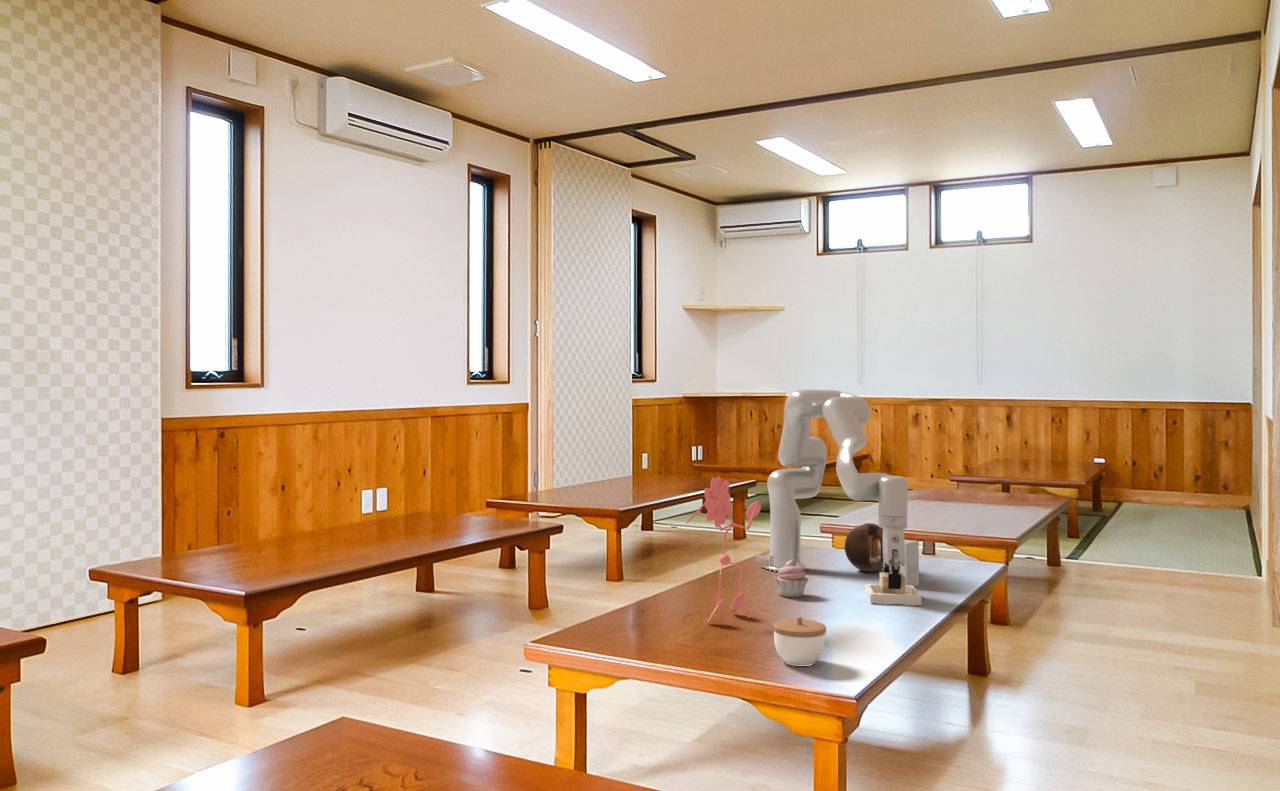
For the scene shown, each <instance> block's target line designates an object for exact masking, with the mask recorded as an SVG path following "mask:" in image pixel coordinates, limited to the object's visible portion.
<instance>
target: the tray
mask: <svg viewBox="0 0 1280 791" xmlns="http://www.w3.org/2000/svg"><path fill="white" fill-rule="evenodd" d="M864 587H865V588H864V589H865V592H866V594H865V595H867V596H866V597H868V598H869V600H868V601H870V602H869V604H870V603H885V604H884V605H889V604H905V605H904V606H916V605H921V606H922V594H921V593H920V592H919V591H918V589H917V588H916V586H915V587H914V586H908V585H905V594H880V584H870V583H865V585H864ZM865 592H864V593H865ZM868 598H867V599H868ZM906 604H907V605H906Z"/></svg>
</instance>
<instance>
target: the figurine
mask: <svg viewBox="0 0 1280 791" xmlns="http://www.w3.org/2000/svg"><path fill="white" fill-rule="evenodd" d="M729 490H730V481H728V480H724V481H722V477H721V476H716V477H712V478H711V481H710V488H709V487H705V488H704V497H705V501H704V503H702V504H701V506H699V507H698V508H697V510H696V511H695V512H694V513H693V514H692V516H691V517H690V518H689V519H688V520H687V521H686V524H689V523H690V522H691V521H692V520H693V519H694V518H695V516H696V515H697V514H698V513H699V512H700V511H701V510H702V509H703V507H704V508H705V509H706V510H707V513H706V516H705V518H706V521H707V522H712V521H714V527H715V528H716V529H719V531H721V532H722V531H724V532H723V541H722V543H723V544H722V555H720V557H719V563H720V568H719V581H718V584H719V585H718V596H717V597H718V598H717V602H716V607H715V608H714V610H713V612H712V613H711V615H710V617H709V618H708V620H707V622H706V623H707V624H709V622H710V621H711V620H712V618H713V616H714V615H715V613H716V612H717V611H718V609H720V611H721V613H722V616H723V618H724V620H725V623H726V625H727V626H728V625H730V626H731V624H730V622H729V619H728V617H727V614H726V612H725V610H724V607H723V604H722V602H723V598H721V588H722V587H721V584H722V572H723V566H725V567H726V566H728V565H730V564H731V565H732V566H736V567H737V568H739V569H740V572H739V574H740V575H739V586H738V588H739V589H738V590H739V591H738V595H737V596H736V597H735V598H734V600H733V601H732V602H731V606H730V611H731V613H732V614H735V613H736V612H737V610H738V609H739V608H740V607H741V606H742V607H743V611H744V613H745V615H746V617H747V619H748V618H750V619H751V616H750V614H749V612H748V609H747V606H746V604H745V594H744V593H743V592H742V593H741V591H742V590H741V588H742V574H743V567H742V566H740V565H737V564H735V563H734V562H732V561H731V557H730V556H729V555H728V554H726V553H725V550H726V539H727V537H726V536H727V534H728V532H730V530H732V528H735V527H738V528H741V529H745V530H750V528H751V526H752V522H753V519H754V518H756V516H757V515H758V514H759V513H760V512H761V509H762V504H761V503H760V501H759V500H756V501H755V502H753V503H751V504H749V506H748V507H747V508H746V510H745V517H746V519H747V520H748V521H749V522H748V525H747V526H745V525H741V524H738V523H735V522H734V520H733V517H732V516H731V514H732V513H733V505H732V502H731V494H730V492H729ZM727 516H728V518H729V520H730V524H728V525H726V526H724V527H722V525H725V524H726V518H727ZM720 598H721V599H720ZM759 613H760V614H763V615H764V614H765V615H766V613H765V612H762V611H761V612H759Z"/></svg>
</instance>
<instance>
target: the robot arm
mask: <svg viewBox="0 0 1280 791" xmlns="http://www.w3.org/2000/svg"><path fill="white" fill-rule="evenodd" d="M783 410H784V417H783V418H784V419H783V420H784V421H783V427H782V430H781V438H780V441H779V446H778V452H777V453H778V454H777V455H778V456H777V457H778V462H779V463H780V464H781V465H783V467H784V466H785V467H789V468H781V469H776V470H774V471H773V472H771V473H769V475H768V478H767V482H766V484H767V486H766V487H767V491H768V496H769V497H768V498H769V510H770V511H769V512H770V513H769V514H770V516H769V518H770V522H769V523H770V524H769V526H770V527H769V531H770V532H769V534H770V537H769V552H768V554H765V555H761V554H760V555H757V554H756V555H755V562H758V563H765V564H764V567H765V569H766V570H767V569H769V570H768V571H771V570H773V571H772V572H776V571H779V569H780V568H782V567H784V566H785V564H786V563H787V562H788V561H790V560H793V561H794V562H796V563H797V564H799V565H800V566H801V567H802V570H804V571H805V570H806V565H805V564H802V563H801V537H802V536H801V535H802V533H801V525H802V523H801V522H802V521H801V517H802V516H801V510H800V508H799V505H798V504H797V502H796V500H797V499H810V498H813V497H814V498H815V496H817V495H818V494H819V492H820V489H821V487H822V482H823V478H824V473H825V469H826V464H827V458H828V450H827V445H826V443H825V442H824V440H822V439H821V438H820V437H817V436H811V435H810V434H811V430H812V424H811V420H810V418H814V419H815V418H816V419H817V418H818V419H822V418H823V419H825V422H826V424H827V426H828V428H829V430H830V432H831V434H832V437H833V438H834V440H835V443H836V445H837V447H838V453H837V456H836V461H835V463H836V464H835V465H836V466H835V468H836V469H835V470H836V477H837V478H838V480H839V483H840V485H841V487H842V490H843V491H844V492H845V495H847V497H848V498H849V499H851V500H853V501H857V502H863V501H864V502H865V501H878V525H879V527H881V528H883V540H882V548H883V560H884V561H885V562H884V573H888V588H889V589H901V570H900V564H901V565H902V566H904V565H905V540H906V539H905V529H907V528H908V505H909V504H908V499H909V498H908V496H909V495H908V493H909V492H908V490H909V487H908V486H909V485H908V483H909V482H908V479H907V478H906V477H904V476H899V475H890V474H888V473H885V472H865V473H864V472H862V473H861V472H860V473H859V472H858V470H857V468H856V465H855V463H854V459H853V455H854V454H856V453H858V452H859V451H861V450H862V449H864V447H865V446H866V445H867V443H868V436H867V434H866V432H865V430H864V428H863V426H862V425H865V424H867V422H869V420H870V417H871V409H870V405H869V403H868V401H866V400H865V399H864V398H863V397H861V396H857V395H854V394H850V393H849V392H848V393H847V392H843V391H841V390H834V389H825V390H824V389H823V390H822V389H799V390H795V391H792V392H791V393H789V395H787V398H786V400H785V403H784V409H783ZM904 539H905V540H904Z"/></svg>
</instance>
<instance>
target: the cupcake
mask: <svg viewBox="0 0 1280 791" xmlns="http://www.w3.org/2000/svg"><path fill="white" fill-rule="evenodd" d="M777 574H778V576H774V580H775V583H776V584H777V590H778V594H779V596H780V595H781V596H780V597H782V596H783V597H782V598H786V597H790V598H789V599H798V597H799V598H802V597H803V596H804V593H805V588H806V585H807V583H808V581H809V578H808V577H806V572H805V570H804V571H803V570H802V567H801V566H800V565H799V564H797V563H796V562H794V561H793V560H790V561H788V562H787V563H786V564H785V566H784V567H782V568H780V569H779V571H778V572H777Z"/></svg>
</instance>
